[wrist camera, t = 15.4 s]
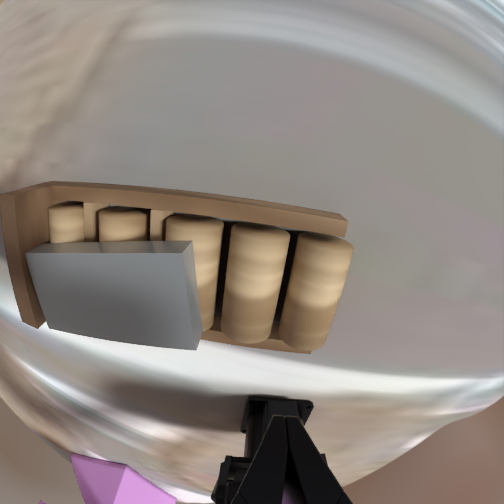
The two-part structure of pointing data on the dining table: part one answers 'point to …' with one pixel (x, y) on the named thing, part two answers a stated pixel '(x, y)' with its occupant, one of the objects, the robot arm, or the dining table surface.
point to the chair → (114, 483)
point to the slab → (120, 291)
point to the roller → (123, 224)
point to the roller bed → (232, 257)
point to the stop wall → (26, 242)
